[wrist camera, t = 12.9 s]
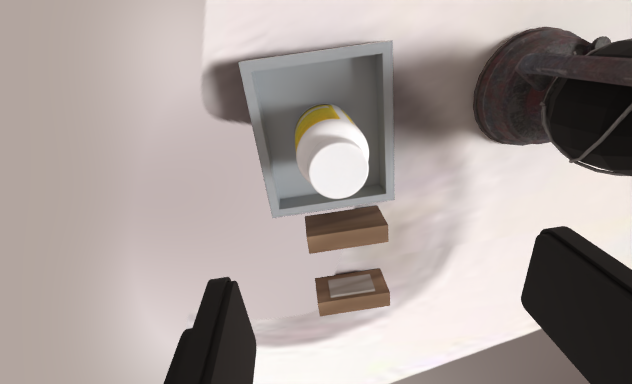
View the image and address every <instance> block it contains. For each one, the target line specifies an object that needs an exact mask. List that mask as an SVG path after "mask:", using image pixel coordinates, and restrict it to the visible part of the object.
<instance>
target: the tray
mask: <svg viewBox="0 0 632 384" xmlns="http://www.w3.org/2000/svg"><path fill="white" fill-rule="evenodd" d="M238 63H239V68H240V72H241V77H242V82H243V86H244V91H245V95H246V100H247V104H248V109H249V113H250V118H251V122H252V127H253V131H254V136H255V141H256V145H257V149H258V154H259V159H260V163H261V168H262V172H263V177H264V181H265V185H266V190H267V194H268V199H269V204H270V208H271V213H272V217H273V218H276V217H283V216H289V215H296V214H303V213H310V212H317V211H323V210H330V209H337V208H343V207H350V206H357V205H364V204H370V203H377V202H384V201H390V200H395V190H394V116H393V42H392V41H380V42H373V43H366V44H359V45H352V46H344V47H337V48H330V49H323V50H316V51H309V52H302V53H295V54H288V55H281V56H274V57H266V58H259V59H252V60H245V61H241V62H238ZM324 103H326V104H332V105H335V106H337V107H339V108H341V109H342V110H343V111H344V112H345V113H346V114H347V115H348V116H349V117H350V118H351V120H352V121H353V122H354V124H355V125H356V126H357V127H358V128H359V130H360V131H361V132H362V133H363V135H364V137H365V139H366V141H367V144H368V148H369V160H368V166H369V172H368V176H367V179H366V181H365V183H364V185H363V186H362V187H361V188H360V190H358V191H357V192H356V193H355V194H353V195H351V196H349V197H346V198H341V199H333V198H328V197H325V196H323V195H321V194H320V193H318V192H317V191H316V190H315V189H314V188H313V186H312V185H311V184H310V183H309V182H308V181H307V180H306V179H305V178H304V177H303V175H302V174H301V172H300V170H299V168H298V164H297V159H296V148H295V127H296V124H297V121H298V119H299V117H300V116H301V115H302V113H303V112H304V111H306V110H307V109H308V108H310V107H312V106H314V105H317V104H324Z"/></svg>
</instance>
